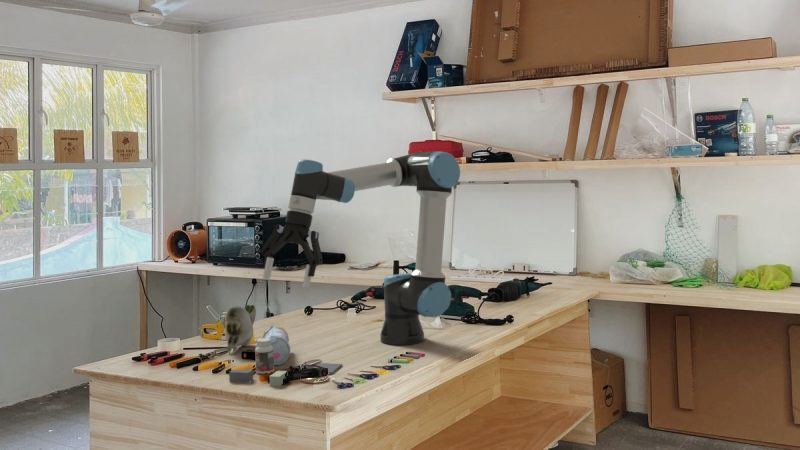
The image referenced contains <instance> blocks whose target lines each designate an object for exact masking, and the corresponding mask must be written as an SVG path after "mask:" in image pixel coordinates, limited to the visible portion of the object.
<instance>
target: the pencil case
mask: <svg viewBox="0 0 800 450" xmlns="http://www.w3.org/2000/svg"><path fill="white" fill-rule="evenodd" d="M264 338H266V339H270V342H271V343H270V346H272V347H273V356H274V366H280V365H283V364H284V363H285V362H286V361H288V359H289V357H290V355H291V346H290V344H289V343H290V337H289V334H288V332H287V330H286V329H284V328H283V327H282V326H281V325H275V324H272V325H270V326H268V327H266V329H265V330H264V333H263V335H262V339H264Z"/></svg>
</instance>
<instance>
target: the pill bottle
mask: <svg viewBox="0 0 800 450" xmlns="http://www.w3.org/2000/svg"><path fill="white" fill-rule="evenodd" d="M270 343H271V342H270V339H266V338H264V339H263V338H258V339H256V345H257V346H256V347H255V349H254V354H255V355H254V356H255V372H256V374H260V375H261V374H263V375H265V373H267V374H270V373H269V372H272V373H274V371H275V365H274V356H273V347H272V346H270Z"/></svg>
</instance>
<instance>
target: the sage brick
mask: <svg viewBox="0 0 800 450" xmlns="http://www.w3.org/2000/svg"><path fill="white" fill-rule="evenodd" d="M286 372H287V373H288V371H287V370H277V371H275V372H272V374H271V375H269V387H281V386H283V385H284V384H283V379H284V377H285V374H286ZM282 384H283V385H282Z"/></svg>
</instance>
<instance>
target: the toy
mask: <svg viewBox="0 0 800 450" xmlns="http://www.w3.org/2000/svg"><path fill="white" fill-rule="evenodd" d="M256 315H257V311H256V306H255V305H254V304H251V305H250V304H246V306H245V307H243V306H242V305H239V304H235V305H232V306H230V307H229V308H228V309H227V311H226V314H225V316H224V317H225V318H224V326H225V335H226V339H227V345H226V346H227V351H228V354H230V353H231V351H233V352H232V353H233V354H234V355H235V353H236V351H237V349H238V347H240V346H241V347H246V346H247V345H249V344H250V343H251V341H252V340H253V336H254V323H255V321H256V320H255V319H256Z"/></svg>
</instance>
